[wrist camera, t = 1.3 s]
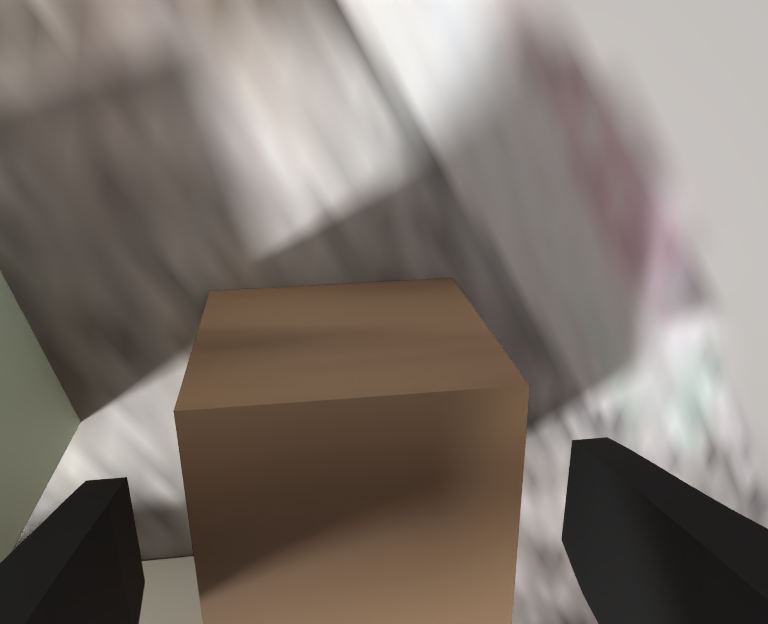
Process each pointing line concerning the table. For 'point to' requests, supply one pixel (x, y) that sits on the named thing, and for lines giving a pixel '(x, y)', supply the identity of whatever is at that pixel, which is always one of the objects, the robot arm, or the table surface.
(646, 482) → the robot arm
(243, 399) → the walnut cube
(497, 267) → the table surface
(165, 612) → the cream slab
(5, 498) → the sage cube
